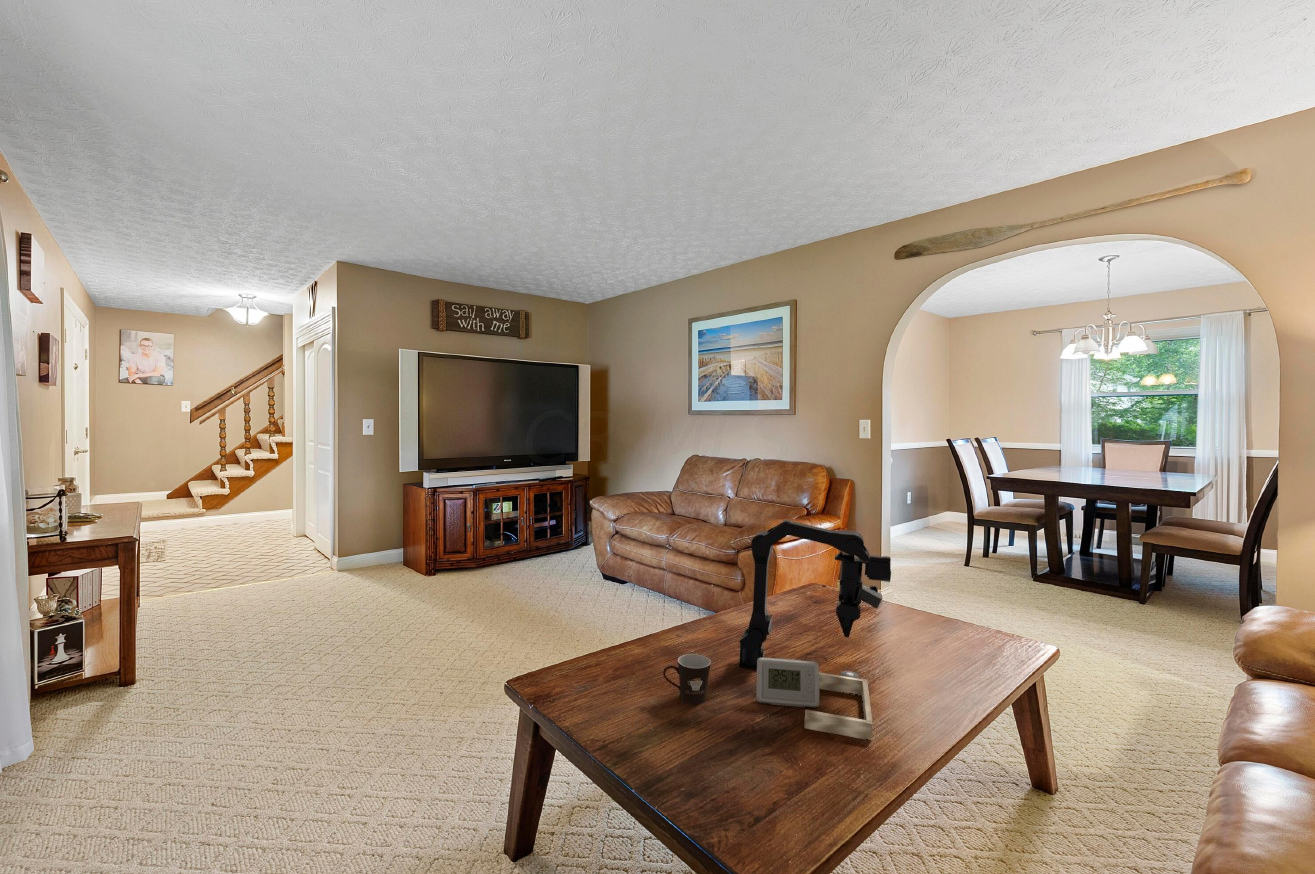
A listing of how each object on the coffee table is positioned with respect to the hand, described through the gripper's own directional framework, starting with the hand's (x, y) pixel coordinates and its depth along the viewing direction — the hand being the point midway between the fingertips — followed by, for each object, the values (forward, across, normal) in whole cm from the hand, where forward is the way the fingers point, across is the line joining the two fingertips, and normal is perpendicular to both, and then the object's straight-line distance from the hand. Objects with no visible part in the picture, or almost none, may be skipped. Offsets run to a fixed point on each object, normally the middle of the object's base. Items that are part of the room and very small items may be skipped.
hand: (847, 631), depth 166 cm
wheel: (+14, 0, -1) cm, 14 cm away
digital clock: (+15, -19, +14) cm, 28 cm away
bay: (+14, -18, +2) cm, 23 cm away
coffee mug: (+15, -27, +38) cm, 49 cm away
